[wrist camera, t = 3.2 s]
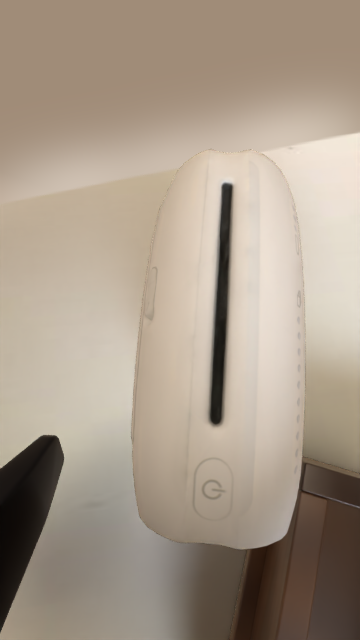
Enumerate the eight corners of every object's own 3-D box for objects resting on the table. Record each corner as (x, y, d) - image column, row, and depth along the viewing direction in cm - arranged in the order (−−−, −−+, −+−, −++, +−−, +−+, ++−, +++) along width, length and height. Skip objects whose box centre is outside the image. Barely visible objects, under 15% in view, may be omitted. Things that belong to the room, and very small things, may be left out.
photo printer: (257, 481, 17) (348, 626, 5) (172, 472, 17) (77, 583, 6) (260, 289, 20) (325, 95, 8) (187, 286, 20) (145, 101, 8)
